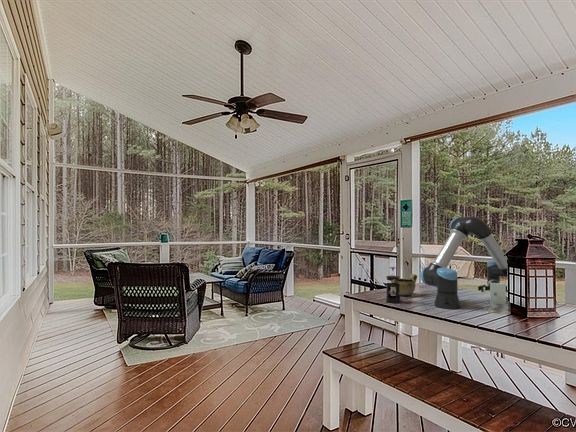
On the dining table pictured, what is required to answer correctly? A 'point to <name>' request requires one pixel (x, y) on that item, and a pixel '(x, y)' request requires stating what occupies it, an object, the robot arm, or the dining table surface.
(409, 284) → the ceramic bowl
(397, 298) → the french press
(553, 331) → the dining table surface
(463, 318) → the dining table surface
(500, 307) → the cradle
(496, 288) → the flat rectangular panel
